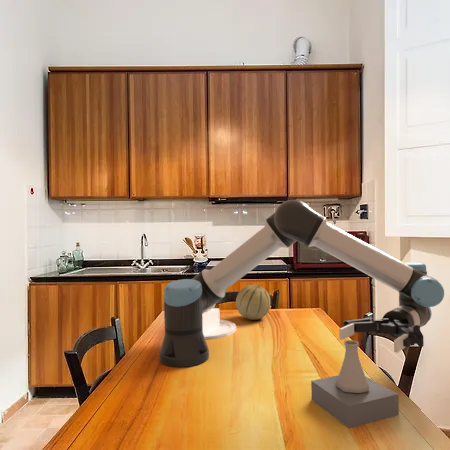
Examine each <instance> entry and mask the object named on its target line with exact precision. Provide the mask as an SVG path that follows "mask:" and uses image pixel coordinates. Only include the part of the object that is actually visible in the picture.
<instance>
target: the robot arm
mask: <svg viewBox="0 0 450 450" xmlns="http://www.w3.org/2000/svg"><path fill="white" fill-rule="evenodd" d="M264 221H265V223H264V226H263V227H262V228H261V229H260V230H258V231H257V232H256V233H255V234H253V235H252V236H251V237H250V238H248V239H247V240H246V241H245V242H243V243H242V244H241V245H240V246H238V247H237V248H236V249H234V250H233V251H232V252H231V253H229V254H228V255H227V256H226V257H224V258H223V259H222V260H221V261H220V262H218V263H217V264H216V265H214V266H213V267H212V268H211V269H205V268H204V269H203V270H201V271H200V272H199V273H197V274H196V275H194V277H193V278H183V279H177V280H173V281H170V282H168V283H167V284H166V285H165V286H164V289H163V309H164V310H163V313H164V314H163V315H164V336H163V339H162V340H163V341H162V342H161V346H160V349H159V361H160V363H161V364H163V365H165V366H168V367H174V368H186V367H193V366H197V365H201V364H203V363H204V362H206V361H207V360H209V358H210V352H209V351H210V350H209V346H208V342H207V339H206V340H205V337H204V334H203V327H202V314H203V313H204V312H205V311H207V310H208V309H210V308H211V307H212V306H213V305H214V304H217V303H218V302H219V301H221V300H222V299H223V298H225V296H226V292H227V290H228V289H229V288H231V286H233V285H234V284H235V283H237V282H238V281H239V280H241V279H242V278H243V277H245V276H246V275H247V274H248V273H250V272H251V271H253V269H255V268H256V267H257V266H259V265H260V264H261V263H262V262H264V261H266V259H268V258H269V257H270V256H271V255H273V254H275V252H277V251H278V250H279V249H280V248H285V249H288V248H290V247H291V246H292V245H294V244H295V243H297V242H298V243H300V244H303V245H304V246H306V247H308V248H311V247H316V248H317V249H320V250H321V251H323V252H325V253H327V254H329V255H330V256H333V257H334V258H336V259H338V260H340V261H341V262H343V263H345V264H347V265H349V266H350V267H353V268H355V269H356V270H357V271H360V272H362V273H364V274H365V275H367V276H369V277H370V278H372V279H375V280H376V281H377V282H380V283H382V284H383V285H385V286H387V287H389V288H391V289H392V290H395V291H396V292H398V307H395V308H393V309H391V310H388V311H387V312H385V314H384V315H383V316H382V318H379V319H377V318H376V319H373V317H372V316H367V317H363V318H359V319H358V318H356V319H348V320H343V322H342V323H343V326H342V327H340V328H339V329H338V330H339V331H338V333H339V334H338V335H339V337H338V338H339V340H340V341H344V340H345V339H348V338H349V337H351V336H353V335H355V333H356V334H357V333H374V334H384V335H388V336H389V337H392V338H395V339H394V340H393V345H394V346H393V348H394V349H393V351H394V353H399V352H401V351H402V350H404V349H406V348H410V347H412V346H413V347H414V346H415V345H417V346H418V347H420V348H422V347H425V346H424V345H425V344H424V335H423V333H422V331H421V328H422V327H424V326H426V325H427V324H428V322H429V321H430V320H431V318H432V310H431V308H433V307H436V306H438V305H440V303H442V301H443V299H444V298H445V289H444V287H443V285H442V284H441V283H440V282H439V280H438V279H436V278H435V277H432V276H430V275H428V271H427V266H426V264H425V263H422V262H415V261H408V262H406V261H405V262H403V261H401V260H400V259H398V258H395V257H393V256H391V255H390V254H387V253H386V252H384V251H382V250H380V249H378V248H376V247H375V246H372V245H371V244H369V243H367V242H365V241H363V240H362V239H359V238H357V237H355V236H354V235H352V234H350V233H348V232H347V231H344V230H342V229H341V228H338V227H337V226H335V225H333V224H331V223H329V221H328V219H327V217H326V216H323V215H322V214H320V213H318V212H317V211H315V210H314V209H312V208H311V207H310V205H309V204H307V203H305V202H304V201H303V200H299V199H289V200H285V201H284V202H282V203H280V204H279V206H277V208H276V210H275V212H274V213H273V214H271V215H270V216H269V217H268V218H266V219H265V220H264Z"/></svg>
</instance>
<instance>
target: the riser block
mask: <svg viewBox="0 0 450 450" xmlns="http://www.w3.org/2000/svg"><path fill="white" fill-rule="evenodd" d="M338 376H339V374H338V375H332V376H328V377H323V378H318V379H314V380H311V382H310V383H311V384H310V385H311V401H312V402H314V404H317V406H319V407H321V408H322V409H323V410H324V411H326V412H327V413H329V415H331V416H332V417H333V418H334V419H336V420H337V421H339V422H340V423H341V424H343V425H344V426H345V427H346V428H348V429H351V428H355V427H359V426H362V425H365V424H370V423H374V422H378V421H381V420H385V419H389V418H393V417H396V416H399V414H400V413H399V412H400V411H399V410H400V409H399V407H400V405H399V402H400V401H399V393H398V392H396V391H393V390H391V389H390V388H388V387H386V386H384V385H382V384H381V383H379V382H377V381H375V380H373V379H371V378H369V377H367V376H366V375H365V377H366V379H367V382H368V385H369V391H367V392H362V393H352V392H344V391H342V390H341V389H340V388H338V387H337V386H336V383H337V378H338Z"/></svg>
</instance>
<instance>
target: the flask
mask: <svg viewBox="0 0 450 450" xmlns="http://www.w3.org/2000/svg"><path fill="white" fill-rule="evenodd" d="M343 345H344V346H345V351H344V352H345V353H344V358H343V361H342V364H341V368H340V371H339V373H338V375H339V376H338V378H337V383H336V386H337V387H338V388H340V389H341V390H342V391H344V392H352V393H362V392H367V391H369V385H368V382H367V379H366V377H367V376H366V374H365V372H364V370H363V366H362V364H361V361H360V356H359V349H358V347H359V341H357V340H353V339H352V340H351V339H349V340H348V339H347V340H343ZM365 376H366V377H365Z"/></svg>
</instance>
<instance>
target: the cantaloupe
mask: <svg viewBox="0 0 450 450" xmlns="http://www.w3.org/2000/svg"><path fill="white" fill-rule="evenodd" d="M261 285H262V284H260V283H259V284H248V285H245V286H243V287H242V288H241V289H240V290H239V291H238V293H237V295H236V299H235V307H236V309H237V311H238V313H239V314H240V315H241V316H242V317H244V318H245V319H247V320H250V321H251V320H254V321H255V320H260V319H263V318H265V316H266V315H267V314H268V313H269V311H270V310H271V309H270V308H271V296H270V294H269V292H268V291H267V290H266V289H265V288H264V287H263V286H261Z"/></svg>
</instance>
